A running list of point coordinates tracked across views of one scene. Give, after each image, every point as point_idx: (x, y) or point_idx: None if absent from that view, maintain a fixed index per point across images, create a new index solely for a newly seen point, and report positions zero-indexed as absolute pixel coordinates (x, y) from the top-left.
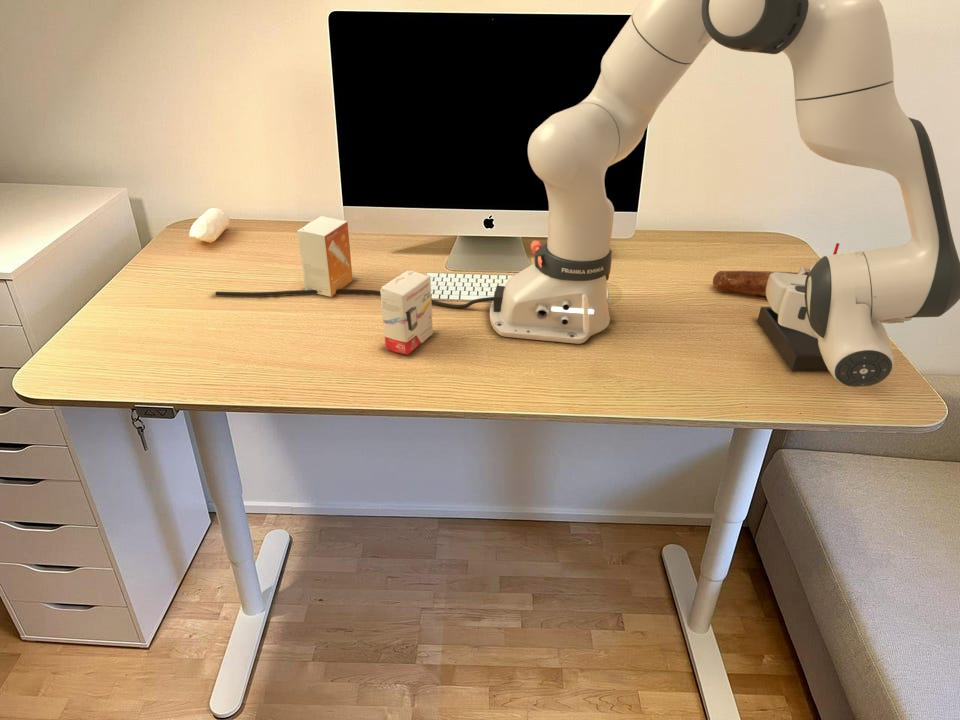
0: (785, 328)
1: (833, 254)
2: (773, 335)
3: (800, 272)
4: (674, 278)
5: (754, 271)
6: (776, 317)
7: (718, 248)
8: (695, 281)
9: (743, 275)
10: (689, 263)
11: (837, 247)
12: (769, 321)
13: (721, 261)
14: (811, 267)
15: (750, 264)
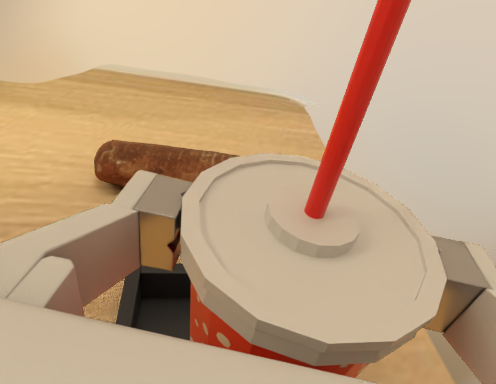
0: (189, 339)
1: (350, 89)
2: None
3: (80, 216)
4: (42, 146)
5: (181, 148)
6: (179, 291)
7: (185, 104)
8: (81, 156)
9: (150, 156)
10: (110, 121)
11: (397, 8)
12: None
13: (172, 124)
14: (209, 174)
15: (218, 134)
